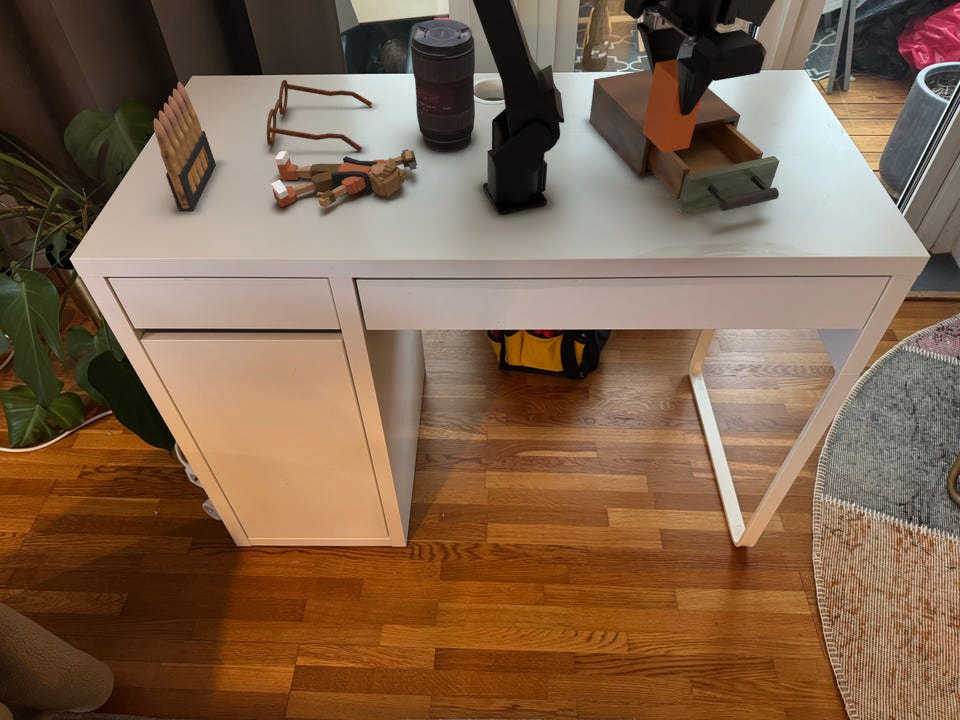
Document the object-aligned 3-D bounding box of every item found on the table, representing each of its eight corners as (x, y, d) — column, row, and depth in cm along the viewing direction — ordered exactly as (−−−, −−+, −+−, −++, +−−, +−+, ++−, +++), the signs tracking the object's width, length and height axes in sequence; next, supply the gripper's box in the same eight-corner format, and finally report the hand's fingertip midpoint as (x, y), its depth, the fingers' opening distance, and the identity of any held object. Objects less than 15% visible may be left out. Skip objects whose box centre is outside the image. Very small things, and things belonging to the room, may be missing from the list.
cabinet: (728, 159, 95) (740, 115, 90) (639, 178, 92) (647, 133, 88) (671, 106, 105) (679, 63, 100) (589, 121, 102) (594, 79, 97)
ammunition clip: (202, 164, 96) (173, 78, 87) (216, 164, 96) (188, 78, 87) (178, 211, 88) (144, 122, 80) (193, 211, 88) (160, 122, 79)
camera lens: (417, 156, 96) (408, 46, 85) (419, 125, 102) (410, 18, 91) (476, 154, 97) (475, 44, 85) (475, 124, 102) (473, 17, 91)
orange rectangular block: (689, 148, 82) (707, 77, 76) (662, 153, 82) (678, 82, 75) (667, 127, 86) (683, 57, 79) (642, 132, 85) (655, 62, 79)
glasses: (286, 106, 106) (278, 74, 102) (372, 105, 106) (368, 73, 102) (268, 153, 97) (259, 120, 93) (362, 153, 97) (357, 119, 93)
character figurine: (286, 137, 94) (417, 131, 90) (298, 169, 97) (424, 165, 94) (255, 188, 86) (397, 184, 83) (269, 222, 89) (405, 219, 86)
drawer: (789, 213, 85) (802, 179, 82) (700, 234, 83) (710, 200, 79) (707, 137, 97) (715, 105, 94) (627, 153, 95) (632, 121, 91)
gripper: (837, -24, 65) (782, 131, 76) (724, -85, 77) (692, 58, 88) (733, -9, 62) (692, 149, 74) (633, -74, 74) (611, 71, 85)
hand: (673, 103), depth 80 cm, fingers closed on orange rectangular block, 5 cm apart
